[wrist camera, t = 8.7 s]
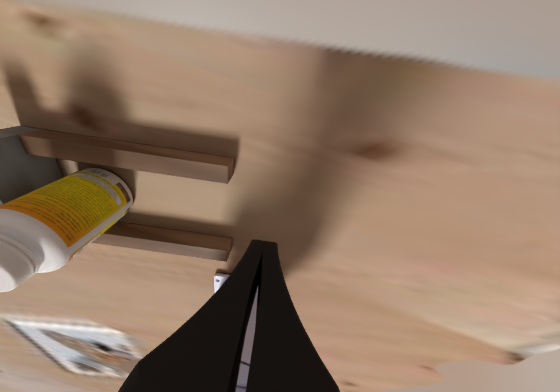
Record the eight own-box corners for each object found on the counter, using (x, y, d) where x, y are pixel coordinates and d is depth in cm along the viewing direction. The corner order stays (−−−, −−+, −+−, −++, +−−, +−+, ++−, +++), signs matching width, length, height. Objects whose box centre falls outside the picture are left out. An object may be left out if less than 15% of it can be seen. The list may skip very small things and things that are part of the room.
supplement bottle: (79, 155, 19) (-99, 221, 11) (139, 180, 20) (22, 260, 12) (79, 200, 22) (-64, 283, 13) (132, 220, 23) (32, 310, 14)
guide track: (231, 248, 24) (218, 285, 20) (67, 225, 24) (18, 257, 20) (233, 158, 19) (216, 182, 14) (20, 125, 18) (-65, 140, 14)
